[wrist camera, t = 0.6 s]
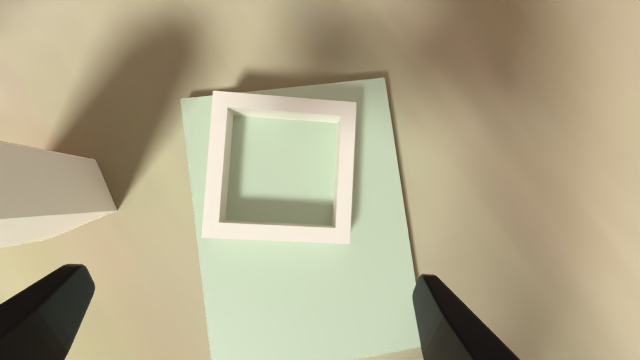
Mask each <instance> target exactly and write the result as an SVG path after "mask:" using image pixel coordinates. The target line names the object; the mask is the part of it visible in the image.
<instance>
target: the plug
mask: <svg viewBox="0 0 640 360" xmlns="http://www.w3.org/2000/svg"><path fill="white" fill-rule="evenodd" d="M115 211H117V208H116V206H115V204H114V201H113V199H112V197H111V194H110V192H109V189H108V187H107V185H106V182H105V180H104V178H103V175H102V173H101V171H100V168H99V166H98V164H97V161H96V159H91V158H86V157H80V156H75V155H70V154H65V153H60V152H55V151H49V150H44V149H39V148H34V147H29V146H23V145H18V144H13V143H8V142H3V141H0V248H3V247H9V246H14V245H20V244H26V243H32V242H38V241H44V240H48V239H51V238H53V237H55V236H58V235H60V234H63V233H65V232H67V231H70V230H72V229H75V228H77V227H79V226H82V225H84V224H87V223H89V222H91V221H94V220H96V219H98V218H101V217H103V216H106V215H108V214H110V213H113V212H115Z"/></svg>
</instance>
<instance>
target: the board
mask: <svg viewBox="0 0 640 360" xmlns="http://www.w3.org/2000/svg"><path fill="white" fill-rule="evenodd" d="M240 93H248V94H260V95H272V96H284V97H297V98H309V99H321V100H334V101H346V102H357V103H356V124H355V145H354V167H353V188H352V209H351V230H350V244H337V243H314V242H290V241H267V240H243V239H220V238H201V237H202V224H203V211H204V198H205V186H206V173H207V160H208V147H209V135H210V122H211V109H212V96H213V95H211V96H202V97H192V98H183V99H180V100H181V109H182V117H183V126H184V134H185V143H186V151H187V160H188V168H189V177H190V185H191V194H192V202H193V211H194V219H195V228H196V236H197V245H198V253H199V262H200V270H201V279H202V287H203V296H204V304H205V313H206V321H207V330H208V338H209V347H210V355H211V360H356V359H361V358H367V357H372V356H377V355H382V354H388V353H393V352H398V351H403V350H409V349H414V348H419V347H421V344H420V339H419V333H418V328H417V322H416V317H415V311H414V306H413V300H412V294H413V290H414V288H415V285H416V281H415V275H414V268H413V262H412V255H411V248H410V242H409V235H408V228H407V222H406V215H405V208H404V202H403V195H402V189H401V182H400V175H399V169H398V162H397V155H396V149H395V142H394V136H393V129H392V122H391V116H390V109H389V102H388V96H387V89H386V83H385V77H384V78H375V79H365V80H356V81H346V82H336V83H327V84H317V85H307V86H298V87H288V88H279V89H269V90H259V91H250V92H240ZM336 133H337V123H329V122H316V121H303V120H290V119H276V118H263V117H250V116H236V115H234V116H233V130H232V143H231V157H230V170H229V184H228V198H227V211H226V220H231V221H252V222H273V223H294V224H315V225H332V211H333V191H334V172H335V152H336Z"/></svg>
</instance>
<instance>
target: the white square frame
mask: <svg viewBox="0 0 640 360" xmlns="http://www.w3.org/2000/svg"><path fill="white" fill-rule="evenodd" d="M356 103H357V102H346V101H334V100H321V99H309V98H297V97H284V96H272V95H260V94H248V93H235V92H223V91H213V96H212V109H211V122H210V135H209V147H208V160H207V173H206V186H205V198H204V211H203V224H202V237H201V238H220V239H243V240H267V241H290V242H314V243H337V244H350V230H351V209H352V188H353V167H354V145H355V124H356ZM234 115H236V116H250V117H263V118H276V119H290V120H303V121H316V122H329V123H337V133H336V152H335V172H334V191H333V211H332V225H315V224H294V223H273V222H252V221H231V220H226V211H227V198H228V184H229V170H230V157H231V143H232V130H233V116H234Z"/></svg>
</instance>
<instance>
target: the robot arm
mask: <svg viewBox="0 0 640 360" xmlns="http://www.w3.org/2000/svg"><path fill="white" fill-rule="evenodd" d="M94 291H95V284H94V282H93V280H92V278H91V276H90V273H89V271H88V269H87V268H86V266H84V265H82V264H66V265H63V266H61V267H60V268H58V269H56V270H55V271H53V272H52V273H50V274H48V275H47V276H45V277H44V278H42V279H40V280H39V281H37V282H36V283H34V284H32V285H31V286H29V287H27V288H26V289H24V290H23V291H21V292H19V293H18V294H16V295H15V296H13V297H11V298H10V299H8V300H7V301H5V302H3V303H2V304H0V360H65V358H66V356H67V354H68V352H69V350H70V348H71V345H72V343H73V341H74V339H75V336H76V334H77V332H78V329H79V327H80V325H81V322H82V320H83V318H84V315H85V313H86V311H87V308H88V306H89V304H90V301H91V299H92V297H93V294H94ZM412 300H413V306H414V311H415V317H416V322H417V328H418V333H419V339H420V344H421V349H422V354H423V358H424V360H520V359H519V358H518V357H517V356H516V355H515V354H514V353H513V352H512V351H511V350H510V349H509V348H508V347H507V346H506V345H505V344H504V343H503V342H502V341H501V340H500V339H499V338H498V337H497V336H496V335H495V334H494V333H493V332H492V331H491V330H490V329H489V328H488V327H487V326H486V325H485V324H484V323H483V322H482V321H481V320H480V319H479V318H478V317H477V316H476V315H475V314H474V313H473V312H472V311H471V310H470V309H469V308H468V307H467V306H466V305H465V304H464V303H463V302H462V301H461V300H460V299H459V298H458V297H457V296H456V295H455V294H454V293H453V292H452V291H451V290H450V289H449V288H448V287H447V286H446V285H445V284H444V283H443V282H442V281H441V280H440V279H439V278H438V277H437V276H435V275H430V274H422V275H420V276H419V278H418V281H417V283H416V285H415V288H414V290H413V294H412Z"/></svg>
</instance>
